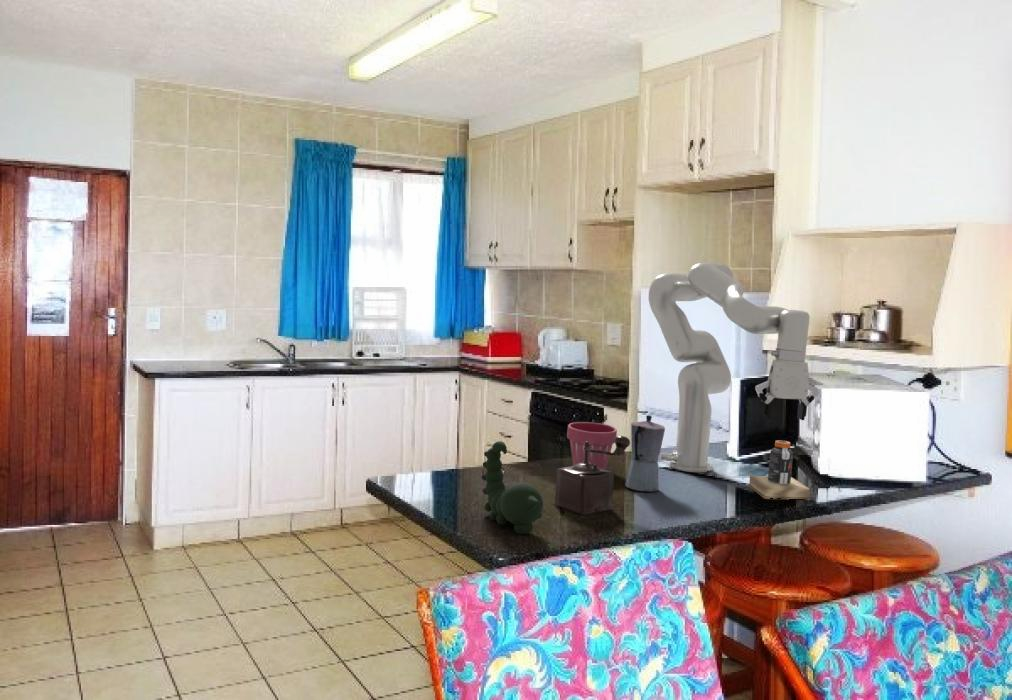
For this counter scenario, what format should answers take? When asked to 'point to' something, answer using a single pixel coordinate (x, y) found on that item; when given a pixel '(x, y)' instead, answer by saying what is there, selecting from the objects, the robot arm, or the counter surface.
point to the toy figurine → (509, 495)
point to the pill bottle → (780, 463)
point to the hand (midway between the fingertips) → (783, 418)
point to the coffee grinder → (587, 483)
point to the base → (778, 488)
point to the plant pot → (591, 441)
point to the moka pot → (645, 455)
